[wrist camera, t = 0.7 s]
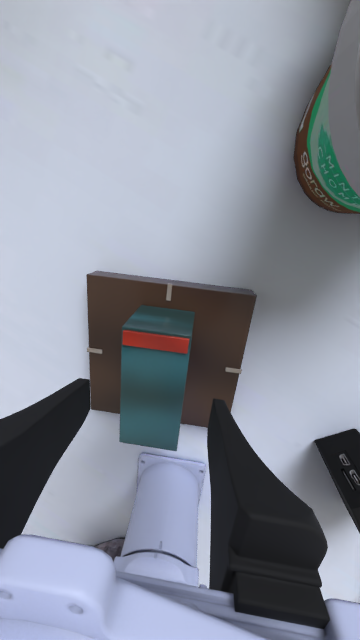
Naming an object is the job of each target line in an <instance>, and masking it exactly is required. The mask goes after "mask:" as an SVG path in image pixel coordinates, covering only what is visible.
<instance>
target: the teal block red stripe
mask: <svg viewBox="0 0 360 640" xmlns="http://www.w3.org/2000/svg"><path fill="white" fill-rule="evenodd" d="M194 316H195V312H191V311H183V310H175V309H168V308H160V307H152V306H145V305H141V306H140V307H139V308H138V309H137V310H136V311H135V313H134V314H133V315H132V316H131V317H130V318H129V319H128V320H127V322H126V323H125V324H124V325H123V326H122V351H121V398H120V442H123V443H129V444H135V445H141V446H148V447H154V448H160V449H166V450H172V451H177V444H178V437H179V429H180V422H181V415H182V407H183V400H184V392H185V385H186V377H187V370H188V362H189V355H190V348H191V340H192V332H193V324H194Z"/></svg>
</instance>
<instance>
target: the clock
mask: <svg viewBox="0 0 360 640" xmlns="http://www.w3.org/2000/svg"><path fill="white" fill-rule="evenodd" d="M87 296H88V328H89V348H87V352H89V359H90V390H91V409H92V410H98V411H105V412H111V413H118V414H120V398H121V351H122V326H123V325H124V324H125V323H126V322H127V320H128V319H129V318H130V317H131V316H132V315H133V314H134V313H135V311H136V310H137V309H138V308H139V307H140V306H141V305H145V306H152V307H160V308H168V309H175V310H183V311H191V312H195V316H194V324H193V332H192V340H191V348H190V355H189V362H188V370H187V377H186V385H185V392H184V400H183V407H182V415H181V422H180V423H182V424H188V425H195V426H201V427H207V428H208V423H209V418H210V412H211V407H212V402H213V398H214V399H221V400H224V401H225V402H226V404H227V407H228V409H229V411H230V412H231V408H232V403H233V399H234V394H235V390H236V386H237V381H238V377H239V373H240V374H241V371H242V370H241V369H240V368H241V363H242V359H243V354H244V350H245V345H246V341H247V336H248V332H249V327H250V323H251V319H252V314H253V310H254V305H255V301H256V294H255V293H254V292H253V291H252V290H247V289H239V288H231V287H223V286H215V285H207V284H199V283H191V282H183V281H175V280H167V279H158V278H150V277H142V276H134V275H126V274H118V273H110V272H102V271H95V272H92V273H90V274H87Z"/></svg>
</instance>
